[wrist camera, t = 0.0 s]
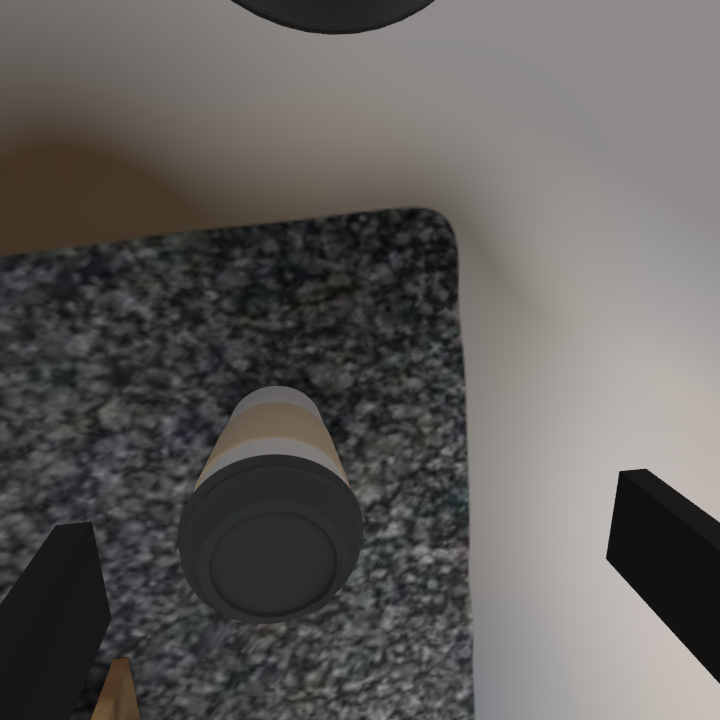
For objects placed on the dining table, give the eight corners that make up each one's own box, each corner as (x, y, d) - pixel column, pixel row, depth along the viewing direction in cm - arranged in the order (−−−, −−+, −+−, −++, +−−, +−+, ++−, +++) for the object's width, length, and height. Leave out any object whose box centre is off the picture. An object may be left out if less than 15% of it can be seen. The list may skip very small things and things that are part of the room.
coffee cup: (190, 456, 37) (133, 617, 22) (246, 349, 35) (221, 450, 21) (302, 501, 39) (314, 671, 25) (359, 403, 37) (406, 525, 23)
